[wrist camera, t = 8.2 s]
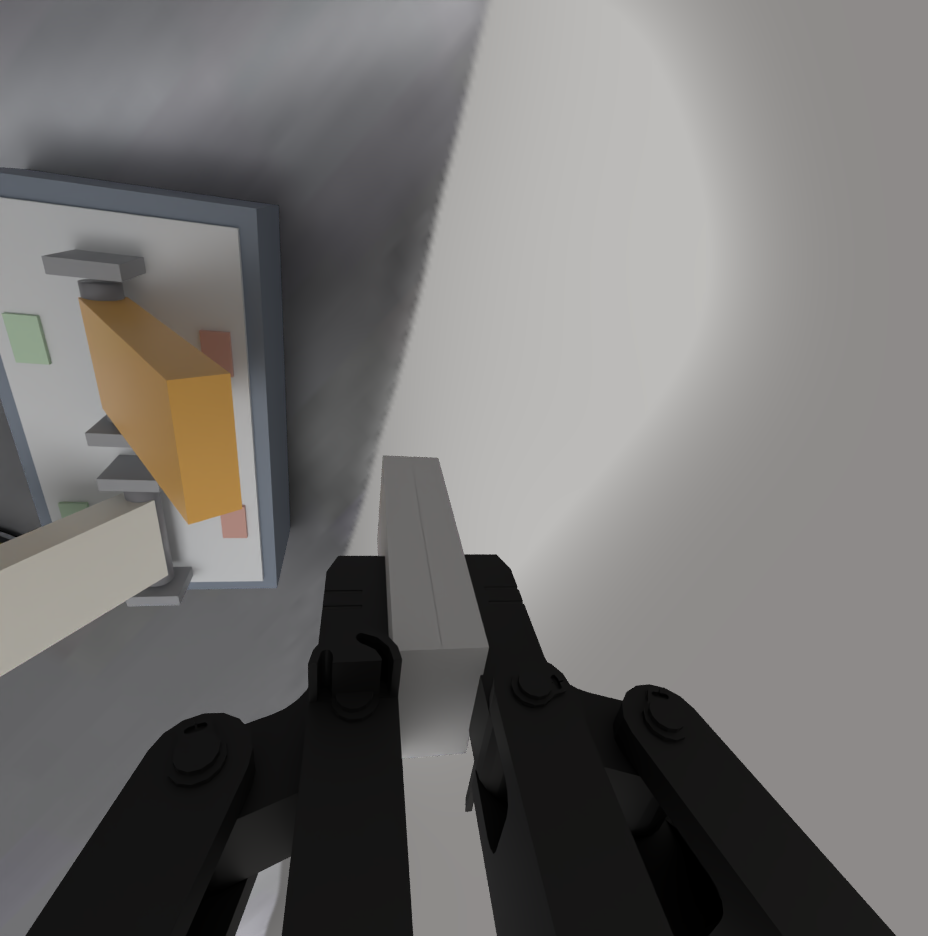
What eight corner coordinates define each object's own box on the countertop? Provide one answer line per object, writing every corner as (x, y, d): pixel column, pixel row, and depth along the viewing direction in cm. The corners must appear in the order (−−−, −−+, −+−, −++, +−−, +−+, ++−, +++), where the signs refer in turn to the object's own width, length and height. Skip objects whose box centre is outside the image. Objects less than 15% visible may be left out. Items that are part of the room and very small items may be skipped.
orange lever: (70, 278, 19) (163, 359, 12) (119, 278, 20) (228, 353, 13) (101, 415, 21) (190, 539, 15) (143, 408, 22) (243, 523, 16)
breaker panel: (25, 169, 23) (-141, 157, 15) (278, 205, 25) (242, 210, 18) (111, 527, 32) (35, 627, 24) (290, 528, 34) (269, 620, 27)
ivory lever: (143, 473, 24) (-195, 609, 15) (166, 484, 23) (-169, 630, 14) (160, 564, 26) (-119, 725, 18) (182, 575, 26) (-95, 747, 17)
